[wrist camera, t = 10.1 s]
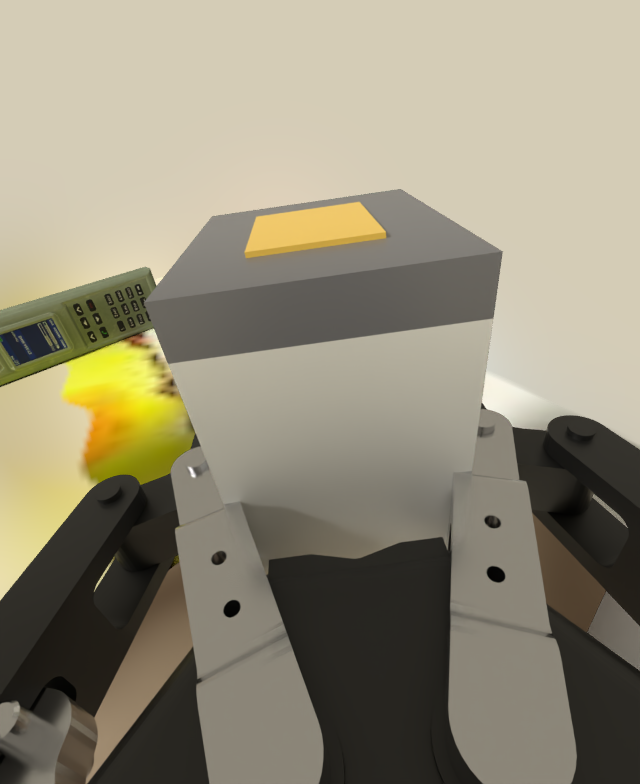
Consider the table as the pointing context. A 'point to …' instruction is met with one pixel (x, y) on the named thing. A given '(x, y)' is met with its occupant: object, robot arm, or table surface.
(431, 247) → the white tall block
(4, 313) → the handheld radio
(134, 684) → the subfloor panel
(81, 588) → the robot arm
